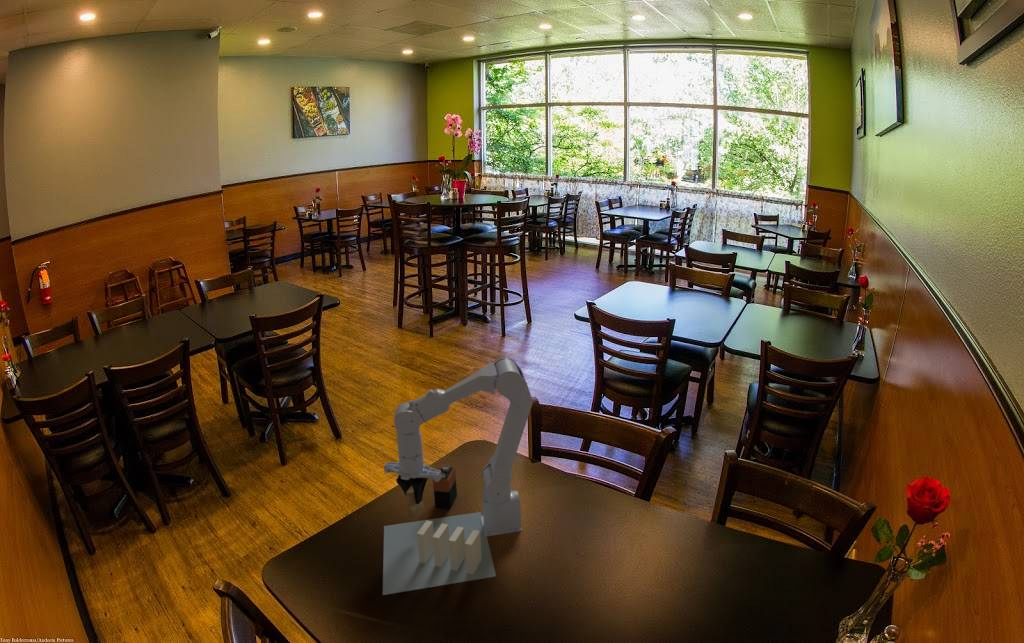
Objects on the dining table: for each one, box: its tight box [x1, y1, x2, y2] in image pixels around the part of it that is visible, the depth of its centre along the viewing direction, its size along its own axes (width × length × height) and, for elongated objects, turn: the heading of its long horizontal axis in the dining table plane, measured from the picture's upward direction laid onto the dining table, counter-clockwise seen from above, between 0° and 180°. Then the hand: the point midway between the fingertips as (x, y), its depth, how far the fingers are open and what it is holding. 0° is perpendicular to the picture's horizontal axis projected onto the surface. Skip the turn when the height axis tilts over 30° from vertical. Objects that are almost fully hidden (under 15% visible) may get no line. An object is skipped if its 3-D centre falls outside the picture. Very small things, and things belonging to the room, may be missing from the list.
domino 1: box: [417, 519, 434, 564], centre depth 137 cm, size 2×5×8 cm, turn 161°
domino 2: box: [433, 523, 450, 567], centre depth 136 cm, size 2×5×8 cm, turn 161°
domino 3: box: [449, 527, 466, 571], centre depth 135 cm, size 2×5×8 cm, turn 161°
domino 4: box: [465, 530, 482, 574], centre depth 134 cm, size 2×5×8 cm, turn 161°
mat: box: [382, 511, 497, 596], centre depth 141 cm, size 25×24×1 cm
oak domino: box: [405, 486, 425, 522], centre depth 144 cm, size 2×5×8 cm, turn 162°
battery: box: [432, 464, 458, 510], centre depth 158 cm, size 4×7×10 cm, turn 168°
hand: (415, 501), depth 144 cm, fingers closed on oak domino, 1 cm apart
